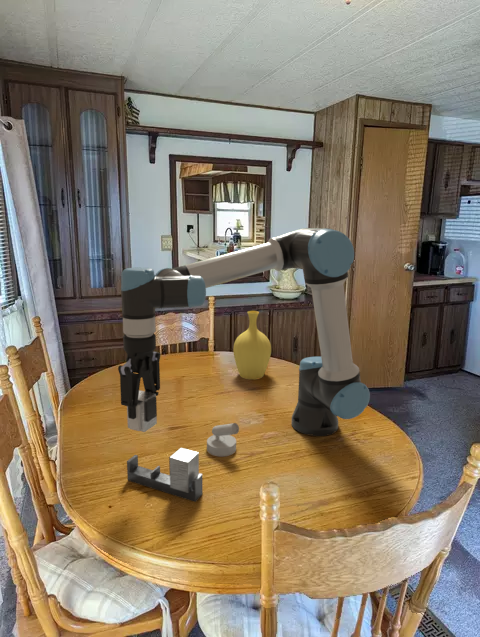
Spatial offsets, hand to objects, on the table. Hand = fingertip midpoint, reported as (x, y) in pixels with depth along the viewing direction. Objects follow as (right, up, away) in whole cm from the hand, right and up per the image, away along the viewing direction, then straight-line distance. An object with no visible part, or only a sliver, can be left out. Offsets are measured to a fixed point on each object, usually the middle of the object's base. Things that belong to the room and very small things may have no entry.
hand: (142, 424), depth 109 cm
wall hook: (+19, -12, +20) cm, 30 cm away
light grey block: (0, 0, 0) cm, 0 cm away
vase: (+29, +2, +81) cm, 86 cm away
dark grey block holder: (+5, -16, +1) cm, 17 cm away
